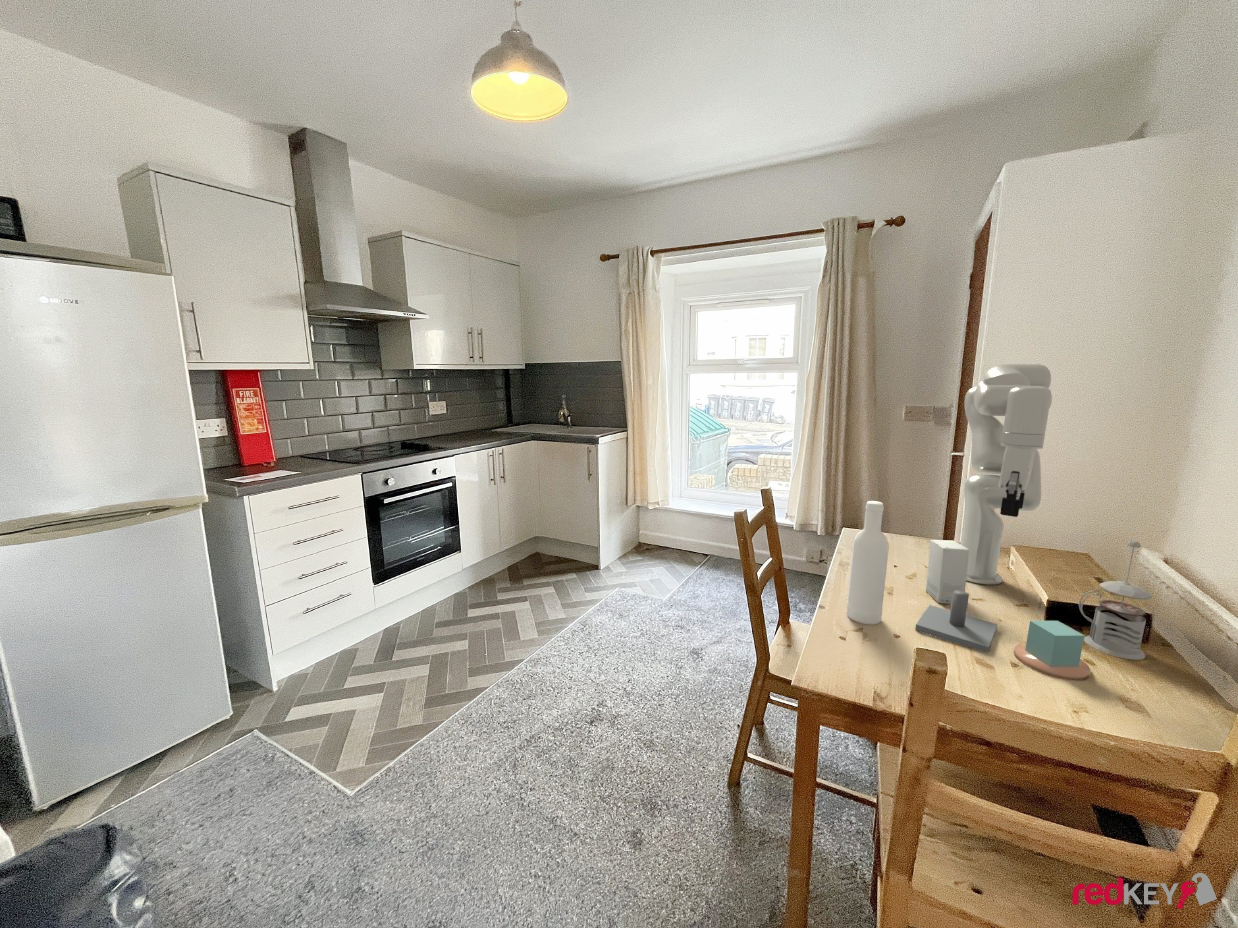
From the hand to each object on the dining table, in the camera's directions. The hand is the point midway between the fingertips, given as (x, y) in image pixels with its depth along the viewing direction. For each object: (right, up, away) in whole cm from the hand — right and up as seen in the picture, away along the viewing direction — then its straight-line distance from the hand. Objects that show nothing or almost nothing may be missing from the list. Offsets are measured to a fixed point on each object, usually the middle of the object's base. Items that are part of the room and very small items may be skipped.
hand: (1011, 511), depth 113 cm
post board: (-13, -29, +1) cm, 31 cm away
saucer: (-2, -31, -12) cm, 33 cm away
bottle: (-32, -28, +7) cm, 43 cm away
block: (-2, -30, -13) cm, 33 cm away
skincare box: (-4, -26, +17) cm, 32 cm away
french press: (+17, -30, -6) cm, 35 cm away
